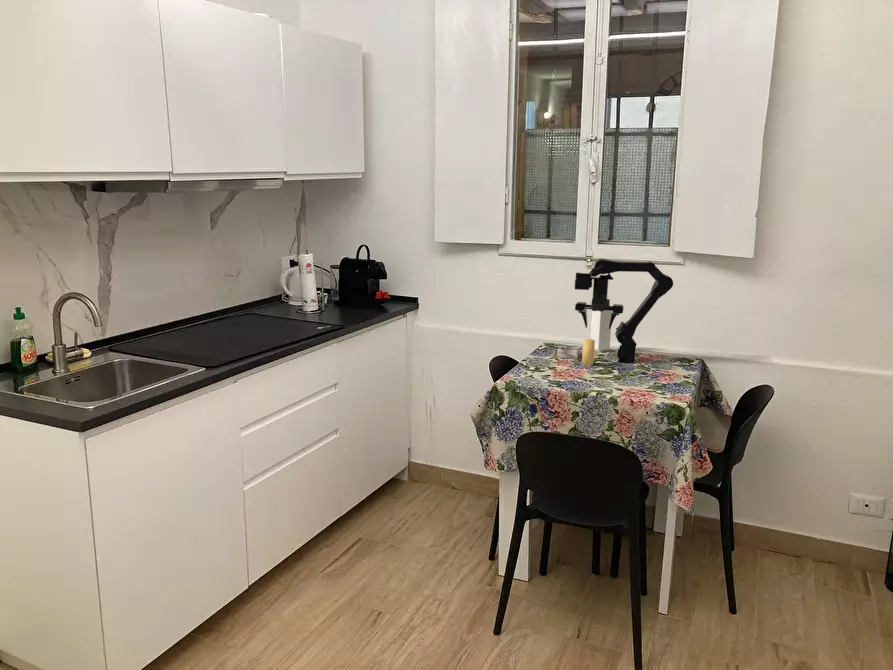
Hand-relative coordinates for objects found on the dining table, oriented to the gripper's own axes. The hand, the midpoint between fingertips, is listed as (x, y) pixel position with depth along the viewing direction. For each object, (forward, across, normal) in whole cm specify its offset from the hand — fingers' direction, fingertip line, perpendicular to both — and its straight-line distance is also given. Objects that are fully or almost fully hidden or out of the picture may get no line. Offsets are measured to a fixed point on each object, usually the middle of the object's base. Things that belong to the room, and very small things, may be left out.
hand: (597, 328), depth 288 cm
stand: (+13, -11, -3) cm, 17 cm away
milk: (+13, 0, +16) cm, 21 cm away
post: (+13, -2, -15) cm, 20 cm away
